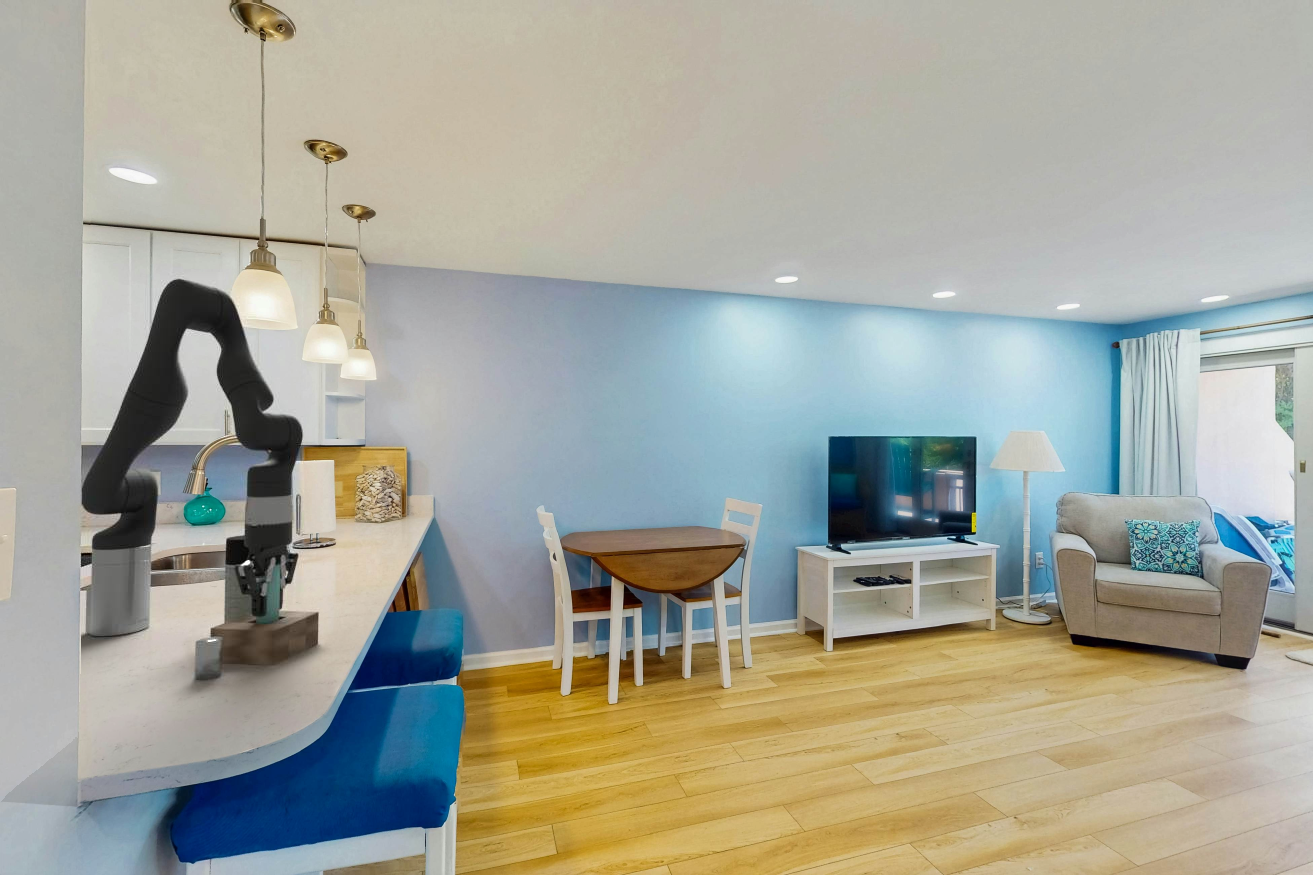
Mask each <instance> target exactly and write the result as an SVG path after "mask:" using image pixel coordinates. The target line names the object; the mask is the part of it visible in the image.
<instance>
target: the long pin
mask: <svg viewBox="0 0 1313 875" xmlns="http://www.w3.org/2000/svg"><path fill="white" fill-rule="evenodd" d="M263 577H264V576H257V578H263ZM260 585H261V583H260V582H258V588H259V589H260ZM266 596H267V602H266V615H265V616H262V617H256V623H261V624H271V623H273V622H276V621H278V620H279V611H280V610H279V602H280V564H277V565H275V566H274V567H273V571H272V577H271V581H270V582H269V583H268V585H267V591H266Z"/></svg>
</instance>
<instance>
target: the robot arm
mask: <svg viewBox="0 0 1313 875" xmlns="http://www.w3.org/2000/svg"><path fill="white" fill-rule="evenodd" d="M149 330H150V331H149V333H148V337H147V341H146V343H145V346H144V349H143V352H142V354H141V357H140V360H139V363H138V365H137V367H136V370H135V372H134V374H133V376H132V378H131V380H130V383H129V385H128V387H127V389H126V392H125V394H124V397H123V399H122V402H121V403H120V404H121V405H120V408H119V410H118V413H117V416H116V418H115V420H114V423H113V425H112V427H111V429H110V432H109V434H108V435H107V438H106V440H105V443H104V444H103V446H102V447H101V449H100V451H99V453H98V454H97V456H96V458H95V460H94V461H93V463H92V465H91V467H90V469H89V470H88V473H87V474H86V476H85V478H84V481H83V484H82V487H81V491H82V502H81V505H82V508H83V509H84V510H85V511H86V512H87V513H89V514H92V515H96V516H97V515H98V516H100V515H102V516H105V515H107V516H108V515H118V514H120V516H119V519H118V520H117V521H116V522H115V523H114V524H112V525H111V526H109V527H107V528H105V529H103V530H100V531H98V532H97V533H94V535H93V536H92V539H91V577H90V578H91V580H90V582H91V583H90V584H88V586H86V590H85V591H86V592H85V593H86V594H85V596H86V597H85V598H86V599H85V634H89V635H90V636H92V637H110V636H119V635H126V634H132V633H135V632H138V631H142V630H145V629H147V628H149V627H150V625H151V624H150V620H151V619H150V618H151V617H150V615H151V583H152V582H151V581H152V580H151V578H152V577H151V576H152V572H151V571H152V536H153V534H155V531H156V530H155V529H156V522H157V521H156V520H157V512H158V511H157V510H158V500H159V499H158V498H159V486H158V482H157V478H156V476H155V474H153V472H152V471H151V470H149V469H147V468H143V467H141V468H139V467H137V468H135V467H134V468H133V467H132V468H131V466H132V464H133V463H134V461H135V460H136V459H137V458H138V456H140V454H141V453H142V452H144V451H145V450H146V449H147V448H149V447H150V446H151V445H153V444H154V443H155V442H157V441H158V440H159V439H160V438H161V437H163V436H164V435H165V434H167V432H169V431H170V430H172V428H173V427H174V426H175V425H176V423H177V422H178V420H179V418H180V416H181V413H182V411H183V410H184V406H185V404H186V402H187V400H188V396H189V386H188V381H187V379H186V375H185V372H184V369H183V367H182V363H181V360H180V348H181V344H182V340H183V337H184V335H185V332H186V331H187V330H192V331H197V332H201V333H202V332H203V333H208V334H209V333H210V334H211V335H212V336H213V337H214V339H215V340H216V341H217V343H218V344H219V346H220V349H221V350H220V355H219V357H218V362H217V364H216V377H217V380H218V384H219V386H220V388H221V390H222V392H223V393H224V395H225V397H226V398H227V401H228V402H229V405H230V406H231V412H232V413H231V414H232V418H233V422H234V423H233V425H234V432H235V437H236V439H237V441H238V442H239V443H240V444H241V445H242V446H243V447H244V448H246V449H248V450H250V451H256V452H261V451H262V452H263V451H265V452H266V451H267V452H269V454H268V457H267V459H266V460H265V461H264V462H262V463H256V464H254V465H252V466H250V467H249V468H248V470H247V479H246V480H247V481H246V501H245V505H244V506H245V507H244V545H245V546H246V547H248V548H249V550H250V551H249V555H248V558H247V561H246V562H245V563H244V564H242V565H236V566H235V573H236V576H237V579H238V583H239V586H240V589H241V593H242V594H243V595H250V596H251V597H252V609H251V612H252V615H253V616H254V617H262V616H265V615H266V602H267V596H266V591H267V585H268V583H269V582H270V581H271V577H272V571H273V567H274V566H275V565H277V564H280V602H279V611H282V609H283V604H284V590H285V589H286V586H287V585H290V584H291V583H292V582H293V578H294V575H295V571H296V567H297V564H298V563H297V562H298V559H299V553H298V552H289V549H288V547H287V546H289V545H291V544H292V543H293V511H294V510H293V508H294V507H293V506H294V505H293V500H292V484H293V483H292V477H293V476H292V475H293V471H294V468H295V466H296V462H297V460H298V455H299V452H300V449H301V447H302V443H303V437H304V432H303V426H302V424H301V423H300V421H299V419H298V418H297V417H295V416H294V415H292V414H288V413H274V412H265V411H267V410H269V408H271V407H272V405H273V403H274V400H275V398H274V394H273V391H272V389H271V387H270V386H269V384H268V383H267V381H266V379H265V377H264V376H263V374H262V372H261V371H260V369H259V367H258V364H257V363H256V360H255V358H254V356H253V353H252V351H251V348H250V345H249V341H248V337H247V335H246V332H245V329H244V325H243V322H242V320H241V317H240V314H239V310H238V308H237V305H236V304H235V301H234V299H233V298H232V297H231V295H230V294H229V293H228V292H226V291H225V290H222V289H220V288H218V287H215V286H210V285H206V284H203V283H200V282H195V281H191V280H188V279H184V278H176V279H173V280H171V281H169V283H167V284H166V286H165V287H164V289H163V290H162V291H161V294H160V297H159V300H158V302H157V305H156V309H155V311H154V316H153V319H152V323H151V326H150V329H149ZM257 576H264V577H263V578H257ZM258 582H260V583H261V585H260V589H259V588H258ZM247 584H248V585H250V588H248V585H247Z"/></svg>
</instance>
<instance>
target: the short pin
mask: <svg viewBox="0 0 1313 875" xmlns="http://www.w3.org/2000/svg"><path fill="white" fill-rule="evenodd" d="M194 650H195V652H194V655H195V656H194V658H195V659H194V680H195V681H198V682H204V681H209V680H210V681H211V680H214V679H217V678H219V677H221V676H222V675H223V674H222V673H223V671H222V670H223V669H222V668H223V663H222V637H210V636H209V637H204V638H200V639H197V640H196V641H195V649H194Z"/></svg>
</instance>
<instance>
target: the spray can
mask: <svg viewBox="0 0 1313 875" xmlns="http://www.w3.org/2000/svg"><path fill="white" fill-rule="evenodd" d="M249 551H250V550H249V548H248V547H246V546H245V545H244V535H236V536H235V535H234V536H229V537H226V539H225V561H224V564H225V565H224V566H225V567H224V573H225V574H224V577H225V578H224V620H223V622H224V623H227V622H229V621H232V620H235V619H238V618H240V617H243V616H246V615H249V614H251V613H252V612H251V609H252V597H251V596H250V595H243V594H242V593H241V589H240V586H239V583H238V579H237V576H236V573H235V566H236V565H242V564H244V563H245V562H246V561H247V558H248V555H249ZM247 585H248V584H247ZM248 588H250V585H248ZM224 623H223V624H224Z"/></svg>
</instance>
